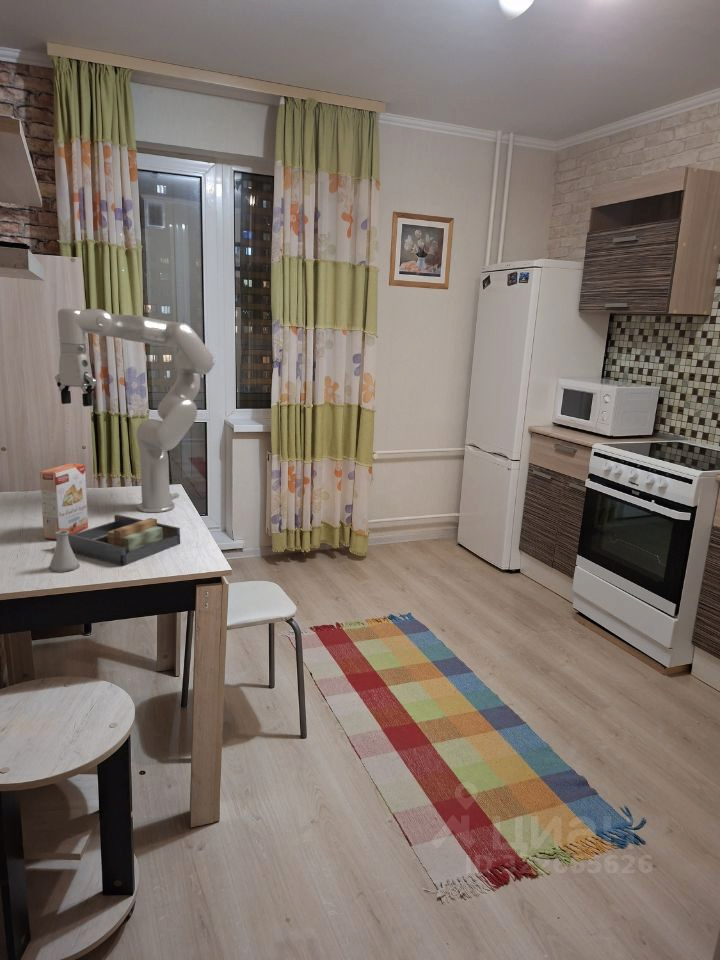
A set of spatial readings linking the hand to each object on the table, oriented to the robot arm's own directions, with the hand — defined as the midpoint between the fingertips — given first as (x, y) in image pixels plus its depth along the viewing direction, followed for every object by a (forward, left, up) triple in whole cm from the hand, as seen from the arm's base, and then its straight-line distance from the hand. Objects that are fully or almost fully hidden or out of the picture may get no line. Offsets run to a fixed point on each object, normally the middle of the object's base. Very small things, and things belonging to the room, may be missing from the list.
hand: (77, 404), depth 207 cm
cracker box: (+12, +6, -38) cm, 41 cm away
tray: (+12, +29, -38) cm, 50 cm away
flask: (+32, +30, -39) cm, 58 cm away
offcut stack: (+12, +36, -38) cm, 54 cm away
